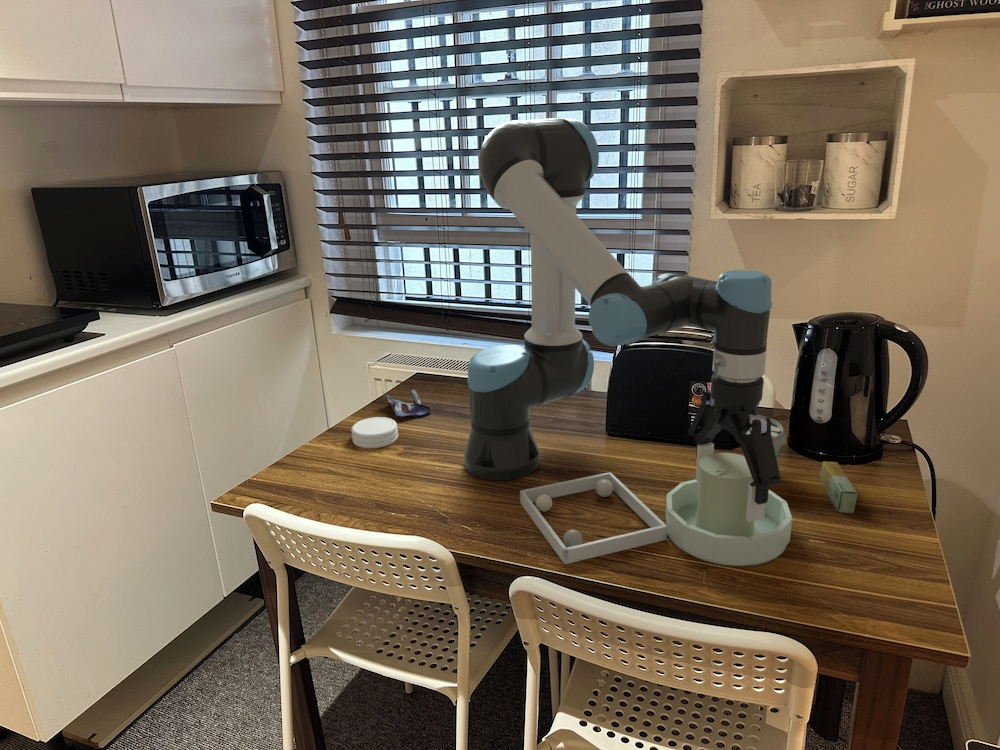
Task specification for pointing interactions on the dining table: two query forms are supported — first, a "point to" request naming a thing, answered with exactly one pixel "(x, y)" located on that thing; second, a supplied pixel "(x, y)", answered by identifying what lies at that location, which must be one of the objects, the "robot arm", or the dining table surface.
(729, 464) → the can
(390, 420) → the round white tin
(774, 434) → the food container
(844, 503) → the medication box
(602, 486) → the light grey ball
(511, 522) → the dining table surface
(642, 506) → the parts tray
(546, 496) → the pebble
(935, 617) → the dining table surface
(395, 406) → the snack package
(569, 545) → the pebble
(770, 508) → the bowl
